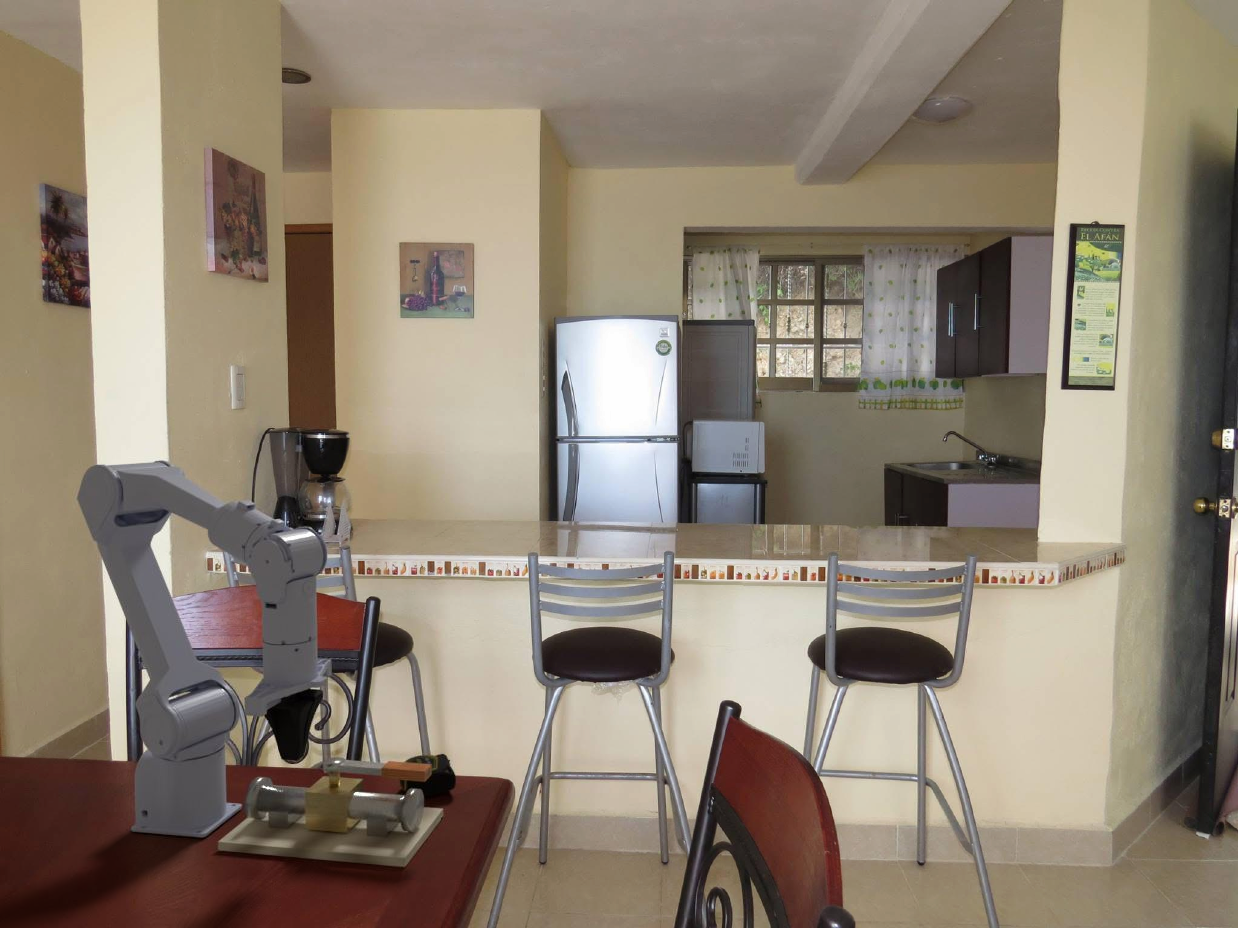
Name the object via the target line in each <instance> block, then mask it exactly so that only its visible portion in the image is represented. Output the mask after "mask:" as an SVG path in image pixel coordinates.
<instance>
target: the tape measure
mask: <svg viewBox="0 0 1238 928" xmlns="http://www.w3.org/2000/svg"><path fill="white" fill-rule="evenodd" d="M450 761H451V760H450V759H449V758H448V756H447V754H445V753H440V754H436V755H432V754H421V755H415V756H412V757H409V758H408V759H406V760H405V761H404V762H408V763H420V764H431V773H432V775H431V776H430V777H429V778H428V779H427V780H426V781H425V782H422V781H410V780H399V784H400V787H401V788H402V790H403V791H404V792H406V793H407V791H408V790H409V789H411V788H412V789H421V790H422V792H423V795H424V797H431V796H435V795H437V794H441V793H445V792H447V793H448V792H449V791H451V790H454V789H455V788H456V784H457V783H456V782H457V778H456V773H455V770H454V769H453V768H452V766H451V763H450Z"/></svg>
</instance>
